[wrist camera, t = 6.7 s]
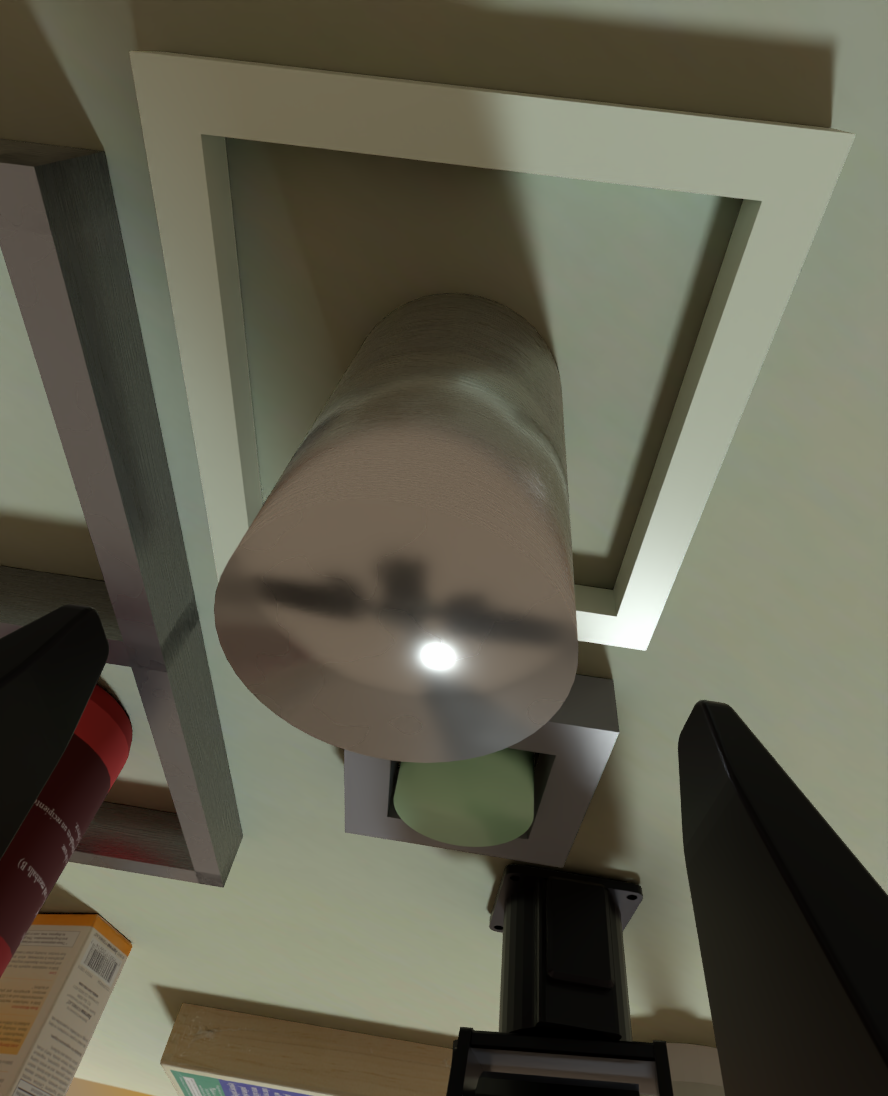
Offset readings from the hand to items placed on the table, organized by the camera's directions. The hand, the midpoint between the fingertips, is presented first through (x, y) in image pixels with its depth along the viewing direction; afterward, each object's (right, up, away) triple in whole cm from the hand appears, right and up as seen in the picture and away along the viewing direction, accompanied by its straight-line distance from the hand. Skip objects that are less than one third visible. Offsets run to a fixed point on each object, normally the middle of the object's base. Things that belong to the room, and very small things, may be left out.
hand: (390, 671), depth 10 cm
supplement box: (-24, -23, +33) cm, 47 cm away
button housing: (+2, -6, +16) cm, 17 cm away
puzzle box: (-9, -48, +51) cm, 70 cm away
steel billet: (+1, +6, +7) cm, 9 cm away
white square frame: (+1, +6, +7) cm, 9 cm away
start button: (+2, -6, +15) cm, 16 cm away
